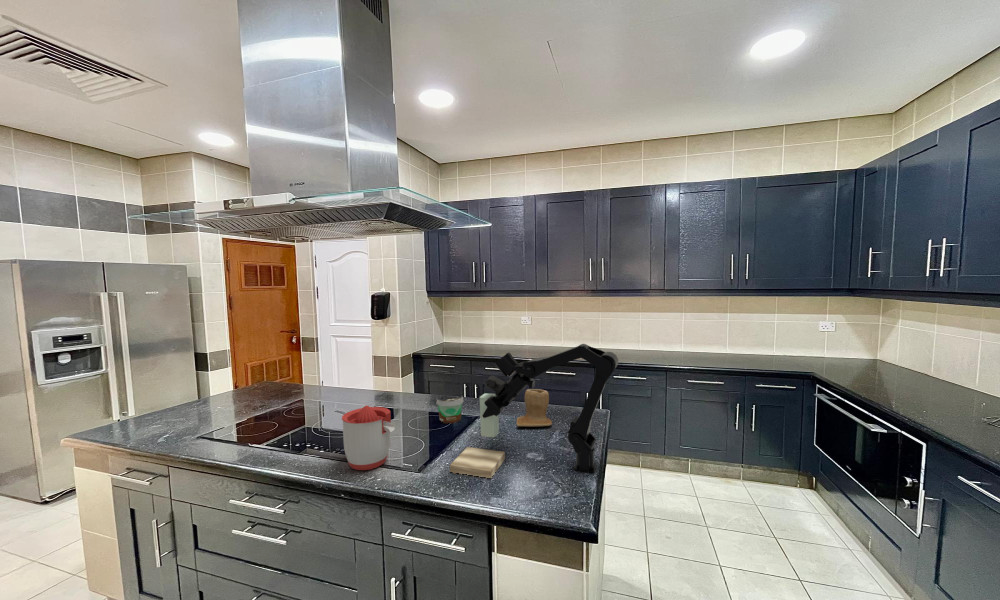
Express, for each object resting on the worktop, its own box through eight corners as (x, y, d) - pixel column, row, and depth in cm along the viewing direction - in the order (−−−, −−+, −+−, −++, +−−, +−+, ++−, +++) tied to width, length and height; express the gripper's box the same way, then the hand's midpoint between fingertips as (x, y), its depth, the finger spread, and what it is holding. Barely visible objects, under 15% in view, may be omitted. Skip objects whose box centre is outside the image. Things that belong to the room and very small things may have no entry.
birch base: (491, 479, 118) (490, 471, 118) (450, 472, 123) (449, 465, 123) (504, 459, 132) (504, 452, 132) (467, 453, 136) (467, 446, 136)
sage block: (494, 437, 135) (492, 398, 134) (481, 436, 136) (479, 397, 136) (499, 432, 139) (497, 394, 139) (486, 430, 141) (484, 393, 140)
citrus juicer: (383, 476, 121) (381, 414, 120) (333, 472, 124) (331, 412, 123) (404, 454, 137) (402, 399, 136) (359, 451, 139) (357, 397, 138)
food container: (440, 426, 162) (439, 403, 162) (436, 421, 168) (436, 399, 168) (467, 421, 167) (467, 399, 167) (463, 417, 173) (462, 395, 173)
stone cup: (549, 419, 169) (548, 385, 169) (553, 429, 157) (553, 393, 157) (515, 419, 169) (514, 386, 168) (516, 430, 157) (516, 394, 156)
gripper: (507, 363, 144) (480, 390, 148) (489, 375, 126) (460, 405, 131) (527, 386, 142) (500, 412, 146) (512, 401, 124) (481, 430, 128)
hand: (486, 414), depth 138 cm, fingers closed on sage block, 5 cm apart
